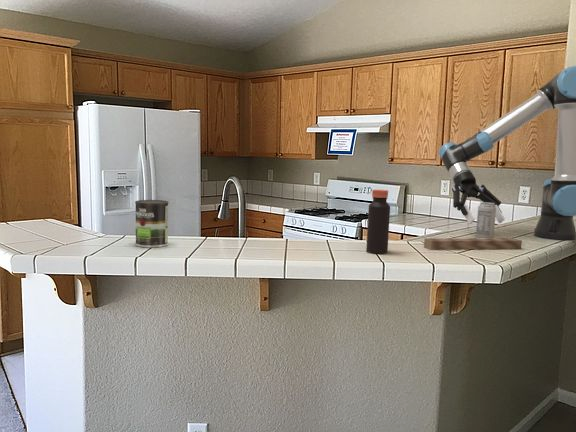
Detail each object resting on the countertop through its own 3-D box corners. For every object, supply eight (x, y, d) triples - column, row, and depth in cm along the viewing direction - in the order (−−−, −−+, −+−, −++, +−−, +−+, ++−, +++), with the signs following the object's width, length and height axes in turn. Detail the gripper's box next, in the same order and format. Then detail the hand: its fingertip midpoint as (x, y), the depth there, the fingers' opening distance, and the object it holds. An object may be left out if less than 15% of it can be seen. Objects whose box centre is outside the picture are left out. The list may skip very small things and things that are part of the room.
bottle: (365, 249, 169) (368, 189, 166) (385, 250, 169) (389, 189, 166) (367, 253, 162) (370, 190, 160) (389, 254, 162) (392, 191, 159)
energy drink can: (496, 244, 186) (499, 203, 184) (486, 246, 183) (489, 204, 181) (481, 241, 191) (485, 201, 189) (471, 243, 188) (475, 202, 186)
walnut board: (512, 246, 184) (512, 237, 183) (521, 249, 179) (521, 240, 178) (423, 247, 177) (424, 238, 176) (430, 250, 172) (431, 240, 171)
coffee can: (156, 249, 159) (156, 204, 158) (128, 245, 163) (128, 201, 161) (174, 243, 169) (174, 201, 167) (148, 240, 173) (147, 198, 171)
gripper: (483, 183, 204) (507, 226, 192) (430, 183, 195) (453, 228, 183) (493, 170, 198) (520, 214, 186) (440, 169, 189) (464, 215, 177)
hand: (487, 221), depth 185 cm, fingers open, 13 cm apart
